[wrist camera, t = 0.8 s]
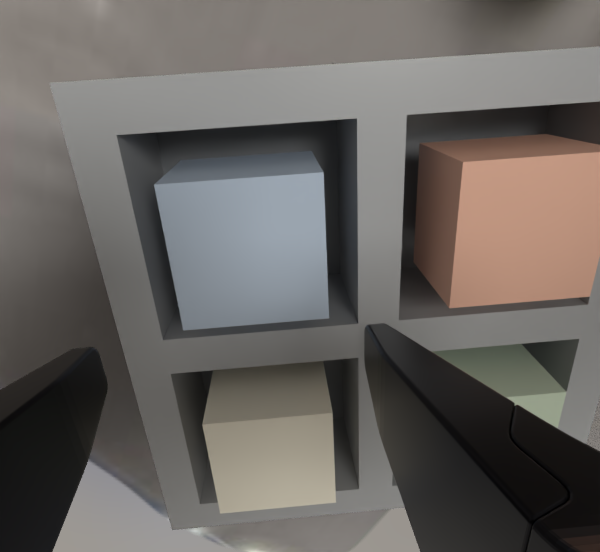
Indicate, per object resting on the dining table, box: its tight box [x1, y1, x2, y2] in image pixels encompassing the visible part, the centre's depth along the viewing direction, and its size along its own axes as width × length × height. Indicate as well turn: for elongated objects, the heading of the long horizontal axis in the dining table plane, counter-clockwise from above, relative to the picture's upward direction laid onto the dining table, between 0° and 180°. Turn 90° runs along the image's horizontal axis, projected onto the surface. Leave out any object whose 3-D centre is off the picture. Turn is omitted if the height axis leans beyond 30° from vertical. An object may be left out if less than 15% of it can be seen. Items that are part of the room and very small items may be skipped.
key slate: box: [154, 151, 329, 330], centre depth 16 cm, size 5×5×4 cm
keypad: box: [50, 47, 600, 530], centre depth 20 cm, size 20×20×5 cm
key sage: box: [431, 344, 566, 428], centre depth 20 cm, size 5×5×4 cm
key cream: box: [202, 361, 336, 514], centre depth 20 cm, size 5×5×4 cm
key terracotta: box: [413, 134, 600, 308], centre depth 16 cm, size 5×5×4 cm
